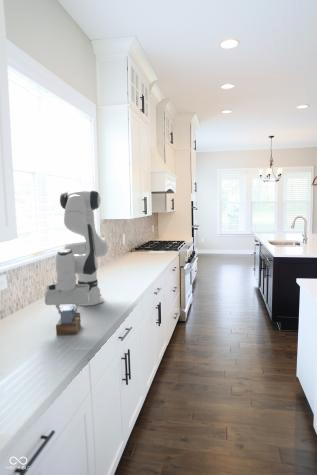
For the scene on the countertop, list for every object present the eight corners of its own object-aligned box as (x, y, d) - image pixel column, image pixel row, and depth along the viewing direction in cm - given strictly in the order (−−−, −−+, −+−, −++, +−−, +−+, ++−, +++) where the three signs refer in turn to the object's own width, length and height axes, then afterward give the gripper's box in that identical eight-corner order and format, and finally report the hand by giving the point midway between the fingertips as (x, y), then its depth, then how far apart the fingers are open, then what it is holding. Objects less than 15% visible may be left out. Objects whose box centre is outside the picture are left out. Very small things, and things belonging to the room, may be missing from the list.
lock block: (64, 318, 162) (64, 306, 162) (75, 317, 163) (74, 305, 162) (60, 323, 154) (60, 311, 154) (71, 323, 155) (71, 310, 154)
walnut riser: (62, 326, 166) (61, 312, 165) (80, 325, 166) (80, 311, 166) (56, 335, 154) (55, 320, 153) (76, 334, 154) (75, 319, 154)
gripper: (89, 282, 161) (90, 310, 162) (46, 283, 159) (48, 311, 161) (87, 285, 154) (89, 314, 156) (42, 286, 153) (44, 316, 154)
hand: (67, 313), depth 158 cm, fingers open, 5 cm apart
